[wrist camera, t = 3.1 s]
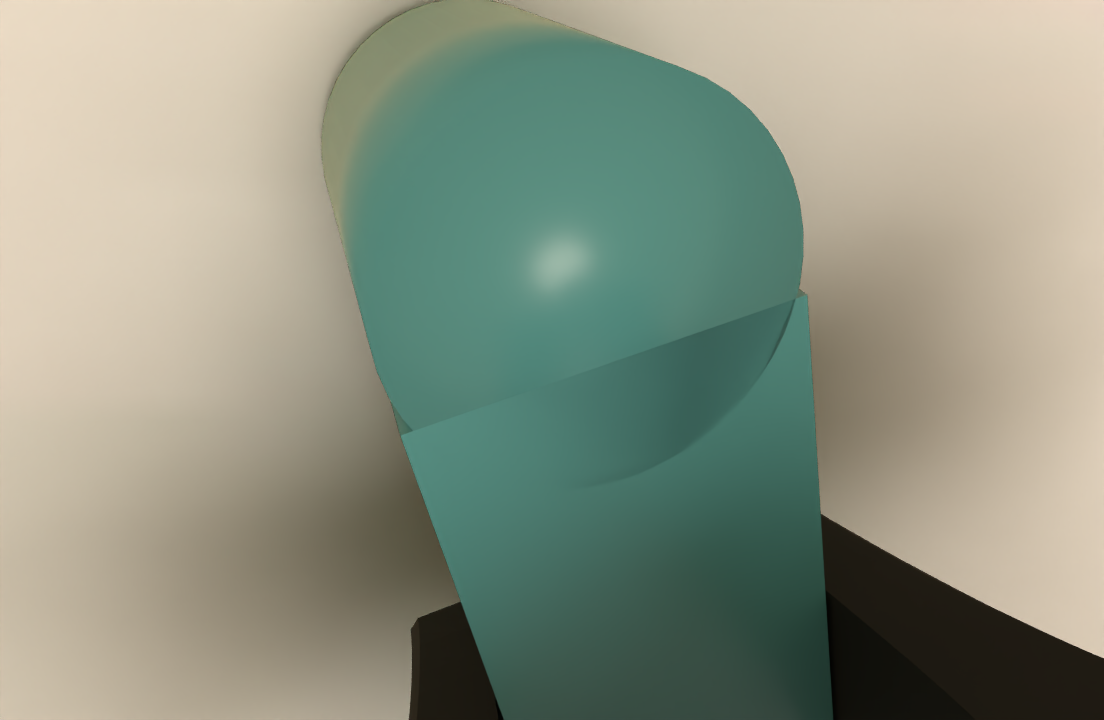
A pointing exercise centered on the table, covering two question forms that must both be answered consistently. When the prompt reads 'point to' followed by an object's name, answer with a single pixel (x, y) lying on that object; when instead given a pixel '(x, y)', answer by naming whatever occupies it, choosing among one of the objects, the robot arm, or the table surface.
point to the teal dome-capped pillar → (591, 361)
